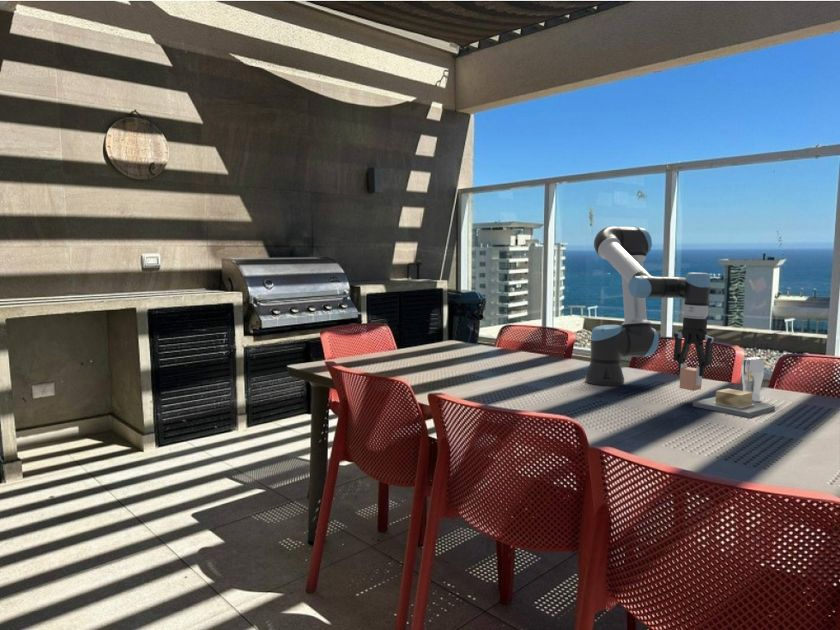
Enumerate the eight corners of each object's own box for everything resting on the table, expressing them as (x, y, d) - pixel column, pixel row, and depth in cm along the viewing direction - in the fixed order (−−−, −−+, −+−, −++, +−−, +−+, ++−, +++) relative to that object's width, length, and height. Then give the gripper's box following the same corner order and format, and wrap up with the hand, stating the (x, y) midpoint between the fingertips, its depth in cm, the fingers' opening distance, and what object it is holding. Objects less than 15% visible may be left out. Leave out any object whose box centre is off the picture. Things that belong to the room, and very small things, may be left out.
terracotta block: (679, 387, 199) (680, 368, 199) (687, 386, 202) (688, 367, 201) (693, 390, 195) (694, 370, 195) (700, 389, 198) (702, 369, 197)
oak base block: (715, 402, 190) (716, 390, 190) (727, 399, 195) (727, 388, 195) (740, 407, 184) (740, 395, 183) (751, 404, 188) (752, 392, 188)
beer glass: (759, 398, 205) (762, 357, 204) (764, 402, 198) (767, 360, 197) (737, 397, 207) (740, 356, 206) (741, 401, 201) (744, 359, 200)
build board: (692, 406, 192) (692, 401, 191) (719, 399, 202) (719, 395, 202) (748, 417, 177) (748, 412, 177) (774, 410, 187) (774, 405, 187)
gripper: (665, 315, 201) (660, 379, 204) (715, 320, 187) (710, 389, 189) (676, 314, 206) (672, 377, 208) (727, 319, 191) (721, 387, 193)
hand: (690, 383), depth 198 cm, fingers closed on terracotta block, 5 cm apart
